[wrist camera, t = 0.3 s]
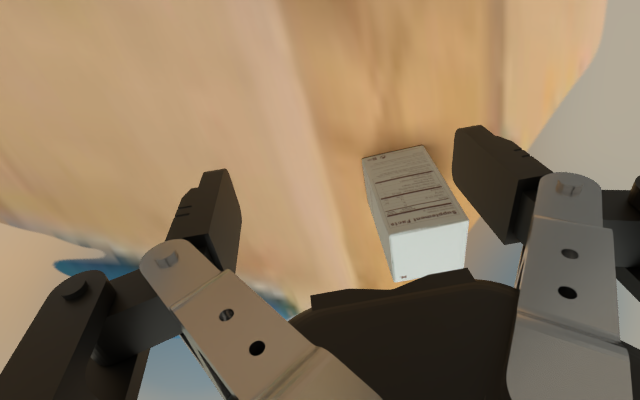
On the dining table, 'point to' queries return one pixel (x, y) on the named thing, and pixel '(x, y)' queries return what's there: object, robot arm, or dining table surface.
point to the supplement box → (415, 214)
